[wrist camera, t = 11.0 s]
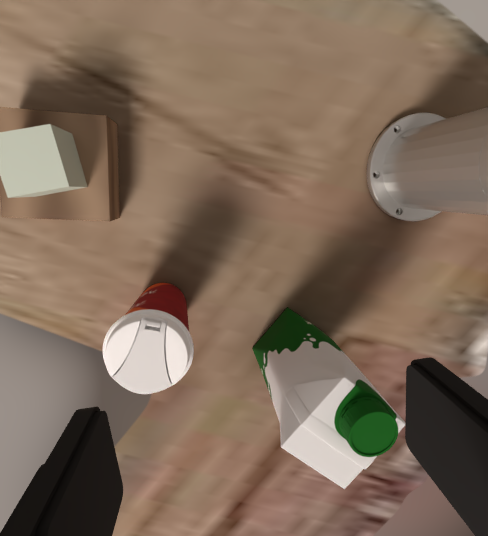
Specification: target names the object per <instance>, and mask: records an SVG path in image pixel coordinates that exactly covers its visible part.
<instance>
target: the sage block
mask: <svg viewBox="0 0 488 536" xmlns="http://www.w3.org/2000/svg"><path fill="white" fill-rule="evenodd" d="M0 176H1V179H2V182H3V185H4V188H5V191H6V194H7V197H8V198H16V197H37V196H42V195H48V194H53V193H58V192H64V191H69V190H74V189H80V188H85V187H87V183H86V180H85V176H84V173H83V169H82V166H81V162H80V159H79V155H78V152H77V148H76V145H75V141H74V138H73V134H72V133H70V132H67V131H65V130H63V129H61V128H58V127H56V126H54V125H52V124H47V125H41V126H35V127H29V128H23V129H17V130H11V131H6V132H0Z"/></svg>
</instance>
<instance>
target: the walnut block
mask: <svg viewBox="0 0 488 536" xmlns="http://www.w3.org/2000/svg"><path fill="white" fill-rule="evenodd" d="M47 124H52V125H54V126H56V127H58V128H61V129H63V130H65V131H67V132H70V133H72V134H73V138H74V141H75V145H76V148H77V152H78V155H79V159H80V162H81V166H82V169H83V173H84V176H85V180H86V183H87V187H85V188H80V189H74V190H69V191H64V192H58V193H53V194H48V195H42V196H37V197H16V198H8V197H7V194H6V191H5V188H4V185H3V182H2V179H1V176H0V200H1V211H2V217H12V218H37V219H62V220H88V221H112V220H115V219H118V218H120V209H119V169H118V130H117V124H116V123H115V122H114V121H112V120H111V119H110V118H109V117H108V116H106V115H93V114H81V113H69V112H56V111H44V110H31V109H19V108H6V107H0V132H6V131H11V130H17V129H23V128H29V127H35V126H41V125H47Z"/></svg>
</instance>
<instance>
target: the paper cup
mask: <svg viewBox="0 0 488 536" xmlns="http://www.w3.org/2000/svg"><path fill="white" fill-rule="evenodd" d="M193 353H194V347H193V341H192V338H191V335H190V333H189V327H188V314H187V305H186V300H185V297H184V295H183V293H182V292H181V291H180V289H178V288H177V287H176V286H174V285H172V284H169V283H157V284H154V285H152V286H150V287H149V288H147V289H146V290H145V291H144V292H143V293H142V294H141V296H140V297H139V298H138V299H137V300H136V302H135V303H134V304H133V305H132V307H131V308H130V309H129V311H128V312H127V313H126V314H125V316H123V317H121V318H120V319H119V320H117V321H116V322H115V323H114V324H113V325H112V326H111V328H110V329H109V331H108V332H107V334H106V337H105V339H104V343H103V358H104V361H105V365H106V367H107V370H108V372H109V374H110V376H111V377H112V378H113V379H114V380H115V381H116V382H117V383H119V384H120V385H121V386H122V387H124V388H126V389H127V390H130V391H132V392H135V393H140V394H151V393H155V392H159V391H162V390H164V389H166V388H168V387H170V386H172V385H174V384H175V383H176V382H177V381H179V380H180V379H181V378H182V377H183V376H184V375H185V374H186V372H187V371H188V369H189V367H190V365H191V363H192V359H193Z"/></svg>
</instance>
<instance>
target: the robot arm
mask: <svg viewBox="0 0 488 536" xmlns="http://www.w3.org/2000/svg"><path fill="white" fill-rule="evenodd" d="M394 129H395V132H394ZM373 173H374V174H375V176H374V177H373ZM367 182H368V188H369V190H370V193H371V196H372V198H373V199H374V201H375V203H376V204H377V205H378V206H379V208H380V209H381V210H382V211H383V212H385V213H386V214H388V215H389V216H391V217H394V218H396V219H400V220H405V221H421V220H426V219H428V218H431V217H434V216H435V215H437V214H439V213H441V212H442V211H445V212H456V213H467V214H478V215H488V107H486V108H483V109H479V110H476V111H472V112H469V113H465V114H462V115H458V116H455V117H451V118H448V119H446V118H444V117H442V116H440V115H437V114H433V113H416V114H411V115H408V116H405V117H403V118H400V119H398V120H397V121H395V122H393V123H392V124H391V125H389V126H388V127H387V128H386V129H385V130H384V131H383V132H382V133H381V135H380V136H379V137H378V138H377V140H376V142H375V144H374V145H373V147H372V150H371V152H370V155H369V158H368V164H367ZM396 210H397V212H396ZM405 437H406V443H407V446H408V448H409V450H410V451H411V452H412V454H413V455H414V456H415V458H416V459H417V460H418V462H419V463H420V464H421V465H422V467H423V468H424V469H425V471H426V472H427V473H428V475H429V476H430V477H431V479H432V480H433V481H434V482H435V484H436V485H437V486H438V488H439V489H440V490H441V491H442V493H443V494H444V496H445V497H446V498H447V500H448V501H449V502H450V503H451V505H452V506H453V507H454V509H455V510H456V511H457V513H458V514H459V515H460V517H461V518H462V519H463V520H464V522H465V523H466V524H467V525H468V527H469V528H470V530H471V531H472V532H473V533H474V535H475V536H488V399H486V398H484V397H483V396H482V395H481V394H480V393H478V392H477V391H475V390H474V389H473V388H472V387H470V386H469V385H468V384H467V383H465V382H464V381H463V380H461V379H460V378H459V377H457V376H456V375H455V374H453V373H452V372H451V371H450V370H448V369H447V368H446V367H444V366H443V365H442V364H440V363H439V362H438V361H436V360H435V359H434V358H423V359H417V360H413V361H412V362H411V365H409V366H408V367H407V371H406V432H405ZM122 496H123V484H122V479H121V475H120V470H119V466H118V462H117V457H116V453H115V448H114V444H113V439H112V435H111V431H110V426H109V422H108V417H107V414H106V412H105V411H100V409H99V407H92V408H85V409H79V410H76V412H75V413H74V415H73V416H72V418H71V420H70V422H69V423H68V425H67V427H66V428H65V430H64V432H63V433H62V435H61V437H60V439H59V440H58V442H57V444H56V446H55V447H54V449H53V451H52V452H51V454H50V456H49V458H48V459H47V461H46V462H45V464H43V465H41V467H40V468H39V469H38V471H37V472H36V474H35V476H34V477H33V479H32V481H31V483H30V484H29V486H28V488H27V489H26V491H25V493H24V494H23V496H22V498H21V499H20V501H19V503H18V504H17V506H16V508H15V509H14V511H13V513H12V514H11V516H10V518H9V519H8V521H7V523H6V524H5V526H4V528H3V530H2V531H1V533H0V536H112V534H113V530H114V526H115V523H116V519H117V516H118V512H119V508H120V505H121V501H122Z"/></svg>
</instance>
